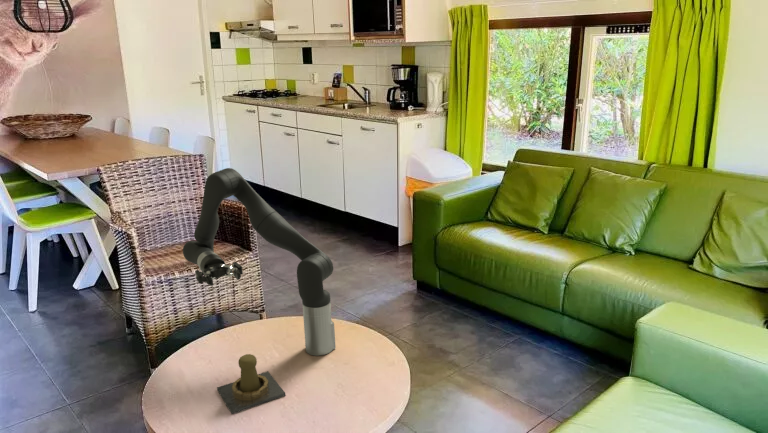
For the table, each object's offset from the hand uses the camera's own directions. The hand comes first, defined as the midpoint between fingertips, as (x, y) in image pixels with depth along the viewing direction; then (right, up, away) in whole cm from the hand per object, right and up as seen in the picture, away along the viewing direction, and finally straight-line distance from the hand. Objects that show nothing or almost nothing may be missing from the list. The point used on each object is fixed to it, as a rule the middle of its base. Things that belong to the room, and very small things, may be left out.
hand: (225, 279), depth 181 cm
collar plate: (+11, -32, -11) cm, 36 cm away
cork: (+11, -31, -11) cm, 35 cm away
